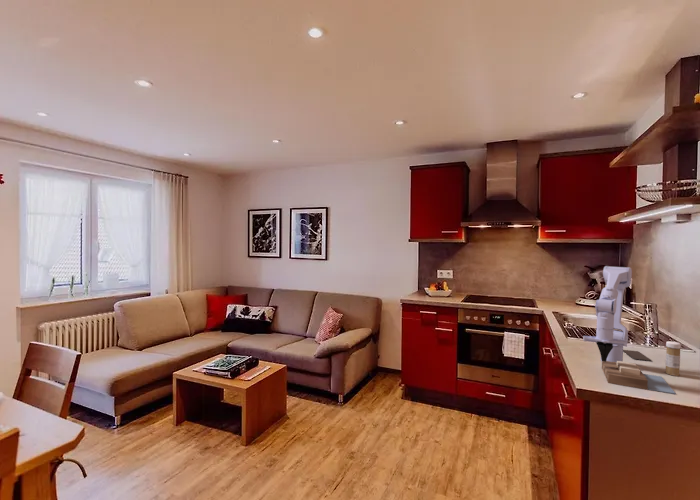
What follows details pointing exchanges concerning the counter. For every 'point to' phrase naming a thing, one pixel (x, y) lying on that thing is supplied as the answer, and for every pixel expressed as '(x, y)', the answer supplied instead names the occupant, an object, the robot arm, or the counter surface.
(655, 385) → the mat
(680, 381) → the counter surface
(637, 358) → the smartphone
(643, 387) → the deck
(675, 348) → the sprinkles bottle
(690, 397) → the counter surface
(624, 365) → the cream block
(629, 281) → the robot arm
